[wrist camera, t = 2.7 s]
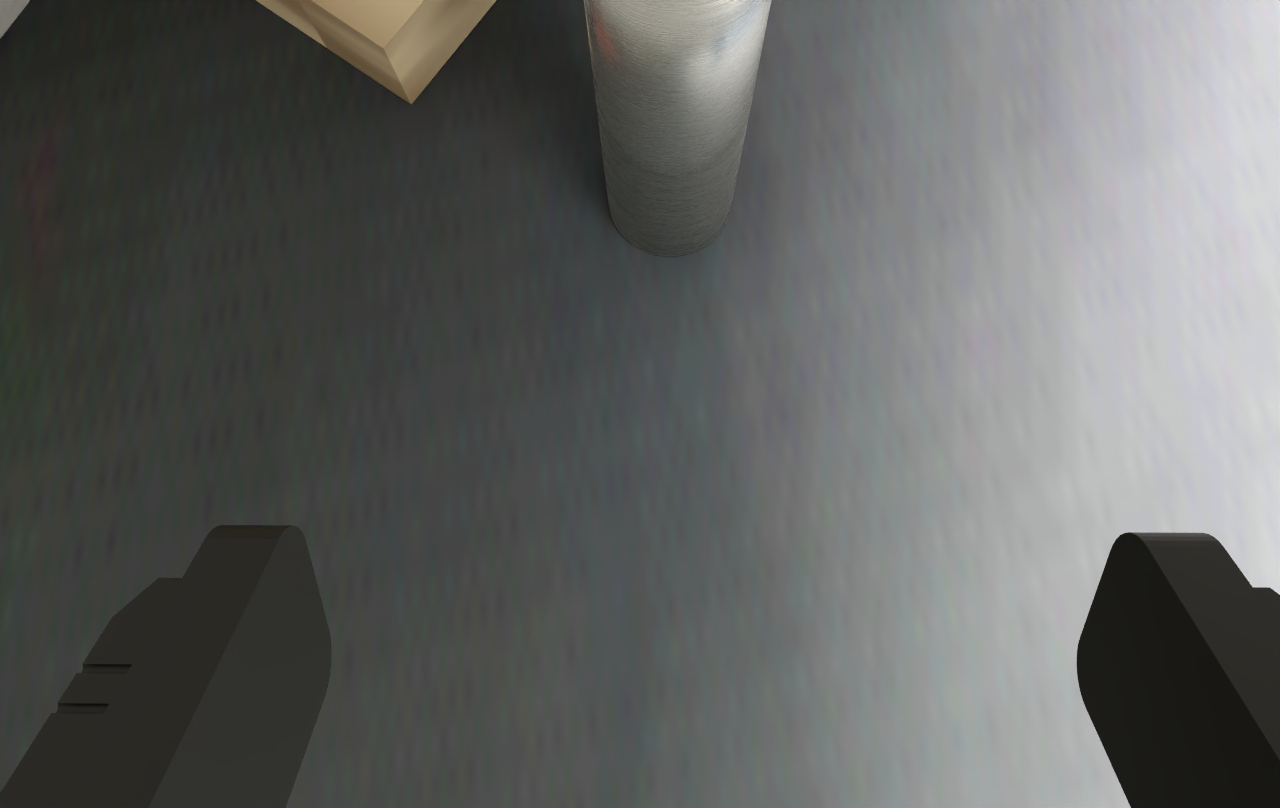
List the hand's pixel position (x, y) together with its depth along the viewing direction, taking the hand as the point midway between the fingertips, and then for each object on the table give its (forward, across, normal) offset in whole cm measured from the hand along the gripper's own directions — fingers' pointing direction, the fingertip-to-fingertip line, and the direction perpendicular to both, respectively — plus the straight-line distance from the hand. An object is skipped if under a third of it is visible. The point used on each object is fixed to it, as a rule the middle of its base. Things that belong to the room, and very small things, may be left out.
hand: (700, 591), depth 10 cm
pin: (+20, 0, +4) cm, 20 cm away
